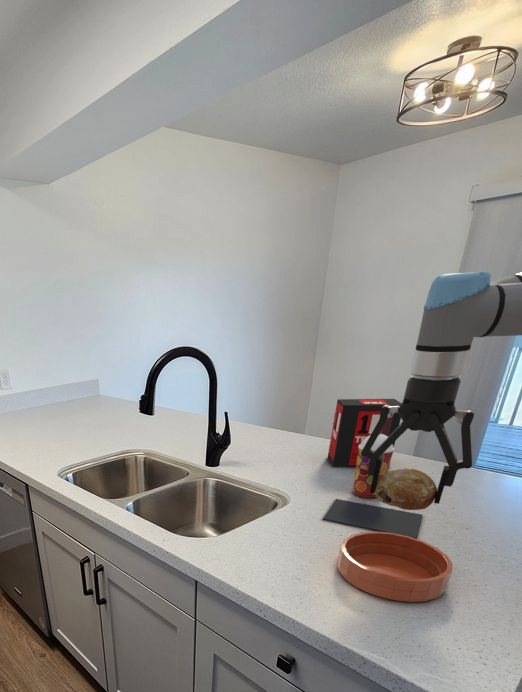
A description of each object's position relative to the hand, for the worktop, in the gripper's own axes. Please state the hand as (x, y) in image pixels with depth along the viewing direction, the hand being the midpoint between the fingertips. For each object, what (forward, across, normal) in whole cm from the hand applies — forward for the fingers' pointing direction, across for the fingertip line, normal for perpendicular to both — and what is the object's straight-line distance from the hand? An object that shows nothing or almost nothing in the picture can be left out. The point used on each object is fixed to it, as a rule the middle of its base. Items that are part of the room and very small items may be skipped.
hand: (403, 495), depth 84 cm
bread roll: (+1, 0, 0) cm, 1 cm away
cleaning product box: (+16, +16, -62) cm, 66 cm away
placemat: (+15, +6, -21) cm, 27 cm away
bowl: (+15, -1, +5) cm, 16 cm away
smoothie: (+16, +10, -36) cm, 41 cm away
